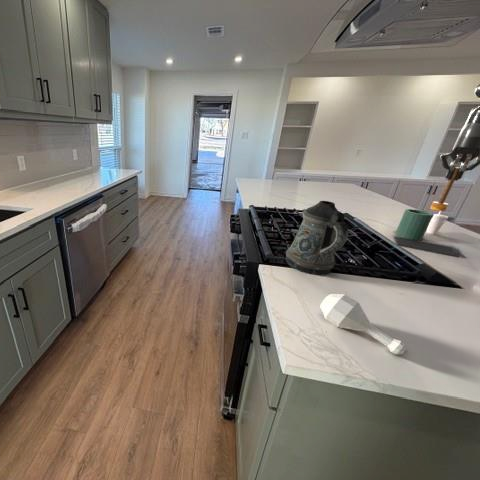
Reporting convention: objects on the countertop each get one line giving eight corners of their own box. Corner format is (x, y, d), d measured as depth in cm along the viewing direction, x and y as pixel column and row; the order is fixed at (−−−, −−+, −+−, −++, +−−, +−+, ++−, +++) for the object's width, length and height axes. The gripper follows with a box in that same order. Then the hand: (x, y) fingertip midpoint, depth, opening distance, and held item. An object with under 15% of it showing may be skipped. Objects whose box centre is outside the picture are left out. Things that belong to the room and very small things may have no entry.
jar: (419, 236, 129) (430, 211, 124) (423, 242, 121) (435, 216, 116) (394, 231, 134) (404, 207, 129) (396, 237, 127) (407, 212, 122)
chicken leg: (390, 368, 56) (417, 340, 54) (312, 312, 67) (331, 287, 65) (391, 360, 62) (415, 334, 60) (319, 310, 73) (337, 287, 71)
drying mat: (450, 247, 116) (451, 246, 116) (458, 257, 107) (459, 256, 107) (394, 237, 126) (394, 236, 126) (397, 245, 117) (397, 244, 117)
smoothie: (419, 230, 137) (431, 205, 131) (433, 231, 136) (445, 206, 130) (428, 234, 131) (441, 208, 125) (443, 235, 130) (456, 209, 124)
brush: (443, 209, 112) (463, 167, 105) (446, 211, 109) (467, 168, 102) (428, 207, 115) (447, 166, 108) (431, 209, 111) (450, 167, 104)
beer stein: (298, 251, 109) (314, 194, 99) (349, 271, 94) (373, 206, 84) (275, 261, 100) (290, 199, 90) (327, 284, 85) (351, 213, 76)
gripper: (450, 135, 101) (431, 179, 107) (503, 136, 93) (479, 183, 100) (445, 135, 106) (427, 177, 113) (495, 136, 99) (472, 180, 106)
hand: (451, 179), depth 107 cm, fingers closed on brush
